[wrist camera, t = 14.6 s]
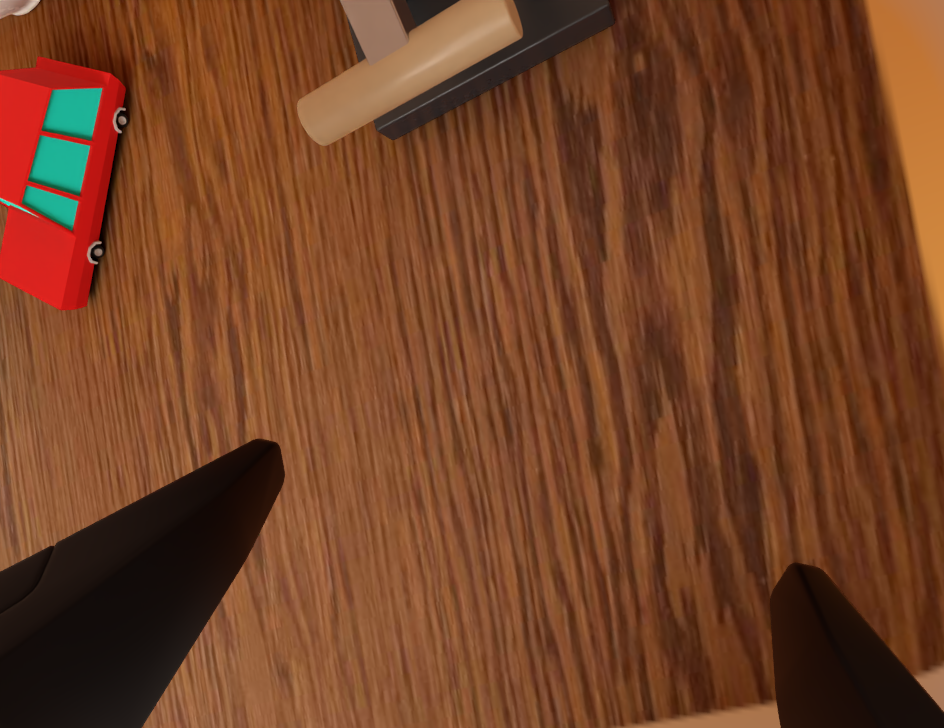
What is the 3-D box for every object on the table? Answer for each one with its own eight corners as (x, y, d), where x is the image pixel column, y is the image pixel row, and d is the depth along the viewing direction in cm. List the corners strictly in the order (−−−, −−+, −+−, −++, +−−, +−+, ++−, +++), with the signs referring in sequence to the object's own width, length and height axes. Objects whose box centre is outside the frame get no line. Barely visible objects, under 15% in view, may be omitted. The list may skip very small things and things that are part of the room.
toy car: (29, 278, 32) (-60, 270, 28) (63, 67, 30) (-29, 29, 26) (97, 312, 30) (8, 309, 26) (139, 85, 28) (49, 46, 24)
